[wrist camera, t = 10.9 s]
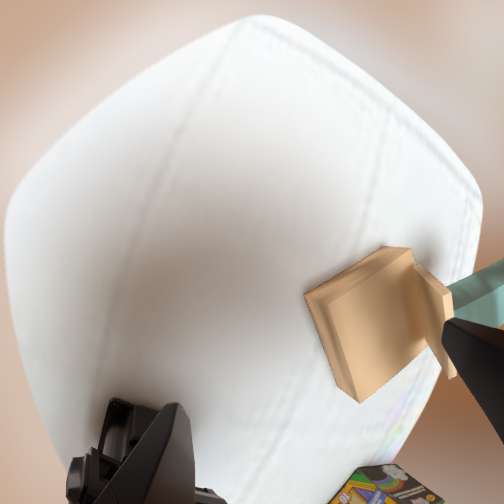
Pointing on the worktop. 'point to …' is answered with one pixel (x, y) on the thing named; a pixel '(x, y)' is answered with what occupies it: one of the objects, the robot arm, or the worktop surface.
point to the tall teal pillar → (459, 304)
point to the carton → (370, 320)
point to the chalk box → (384, 488)
